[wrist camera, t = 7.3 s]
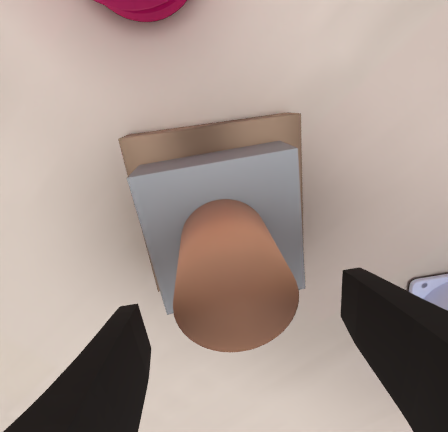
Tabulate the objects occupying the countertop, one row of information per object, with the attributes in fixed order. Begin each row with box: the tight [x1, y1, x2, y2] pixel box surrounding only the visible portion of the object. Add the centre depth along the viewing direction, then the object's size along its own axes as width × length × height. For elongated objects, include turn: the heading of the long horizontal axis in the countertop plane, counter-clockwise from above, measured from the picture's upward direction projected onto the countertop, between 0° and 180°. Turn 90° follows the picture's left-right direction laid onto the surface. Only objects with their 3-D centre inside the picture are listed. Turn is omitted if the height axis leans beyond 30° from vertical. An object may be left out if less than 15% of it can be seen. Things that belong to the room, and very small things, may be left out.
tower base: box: [118, 113, 303, 292], centre depth 18 cm, size 10×10×3 cm
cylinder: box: [173, 199, 299, 352], centre depth 12 cm, size 4×4×5 cm
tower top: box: [127, 141, 305, 314], centre depth 16 cm, size 8×8×3 cm
